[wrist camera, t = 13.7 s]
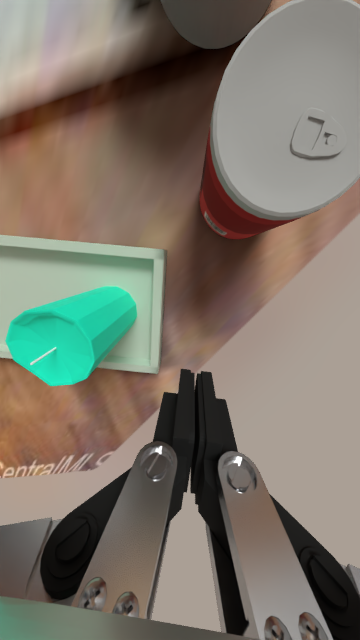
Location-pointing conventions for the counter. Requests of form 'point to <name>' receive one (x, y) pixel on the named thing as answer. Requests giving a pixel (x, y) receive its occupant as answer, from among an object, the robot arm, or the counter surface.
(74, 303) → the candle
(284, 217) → the canned food
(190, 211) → the counter surface
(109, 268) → the tray
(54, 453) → the counter surface
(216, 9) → the coffee mug
